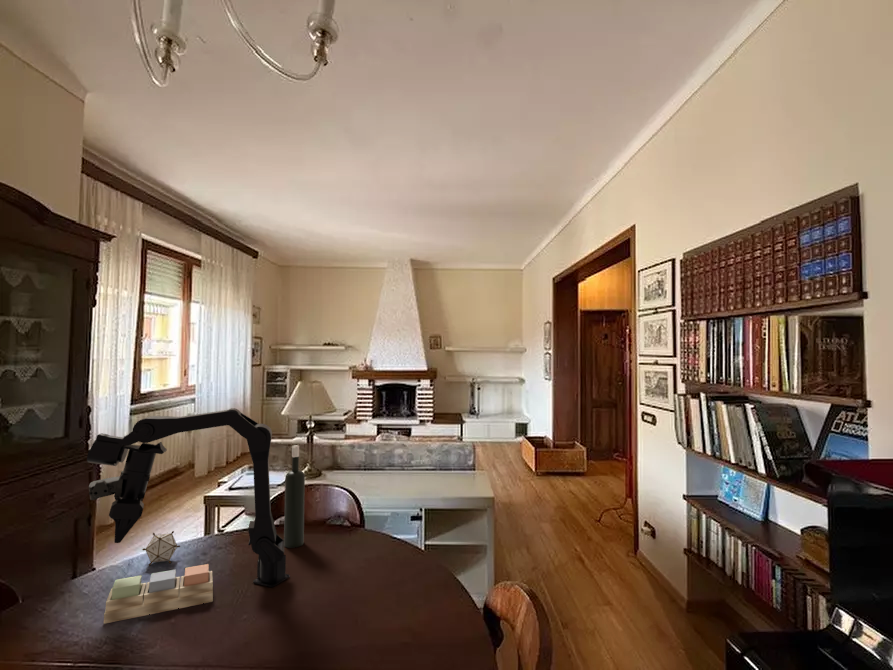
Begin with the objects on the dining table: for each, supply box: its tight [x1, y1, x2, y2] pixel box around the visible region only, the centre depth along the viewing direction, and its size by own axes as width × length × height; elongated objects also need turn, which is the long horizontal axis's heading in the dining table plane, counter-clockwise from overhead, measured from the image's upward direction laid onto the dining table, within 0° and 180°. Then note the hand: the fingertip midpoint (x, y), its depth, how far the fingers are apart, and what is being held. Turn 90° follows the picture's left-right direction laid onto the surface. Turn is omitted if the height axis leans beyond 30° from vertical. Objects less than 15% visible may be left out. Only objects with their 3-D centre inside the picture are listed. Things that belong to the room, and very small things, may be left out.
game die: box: [141, 530, 181, 566], centre depth 133 cm, size 9×8×10 cm
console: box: [103, 570, 214, 625], centre depth 111 cm, size 21×9×4 cm, turn 117°
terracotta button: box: [184, 563, 210, 586], centre depth 114 cm, size 5×5×3 cm
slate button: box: [148, 569, 177, 593], centre depth 111 cm, size 5×5×3 cm
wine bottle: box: [283, 444, 306, 549], centre depth 147 cm, size 6×6×30 cm
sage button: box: [111, 575, 142, 600], centre depth 108 cm, size 5×5×3 cm
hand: (118, 535), depth 112 cm, fingers open, 9 cm apart
